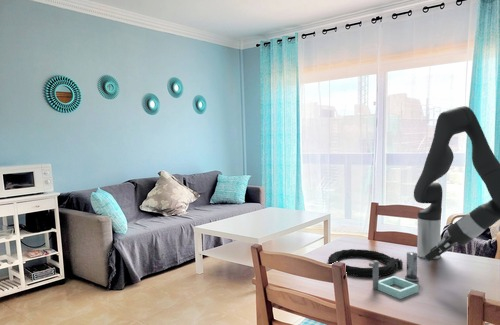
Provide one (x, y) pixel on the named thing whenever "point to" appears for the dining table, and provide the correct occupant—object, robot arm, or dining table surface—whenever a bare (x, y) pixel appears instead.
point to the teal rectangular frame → (385, 284)
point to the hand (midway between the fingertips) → (429, 255)
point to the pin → (411, 267)
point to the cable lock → (367, 272)
